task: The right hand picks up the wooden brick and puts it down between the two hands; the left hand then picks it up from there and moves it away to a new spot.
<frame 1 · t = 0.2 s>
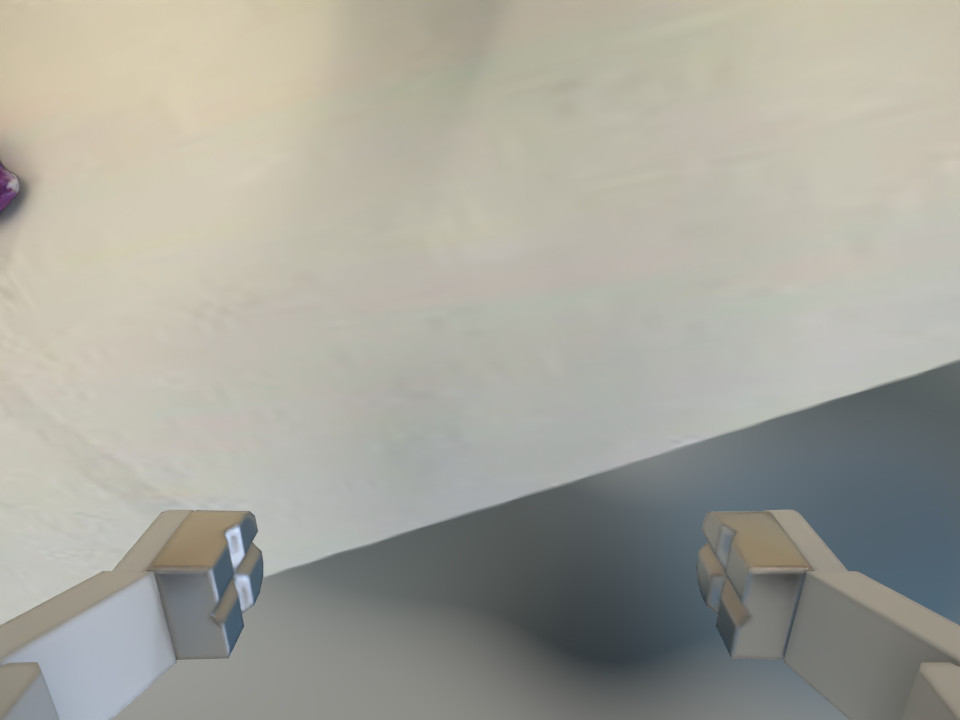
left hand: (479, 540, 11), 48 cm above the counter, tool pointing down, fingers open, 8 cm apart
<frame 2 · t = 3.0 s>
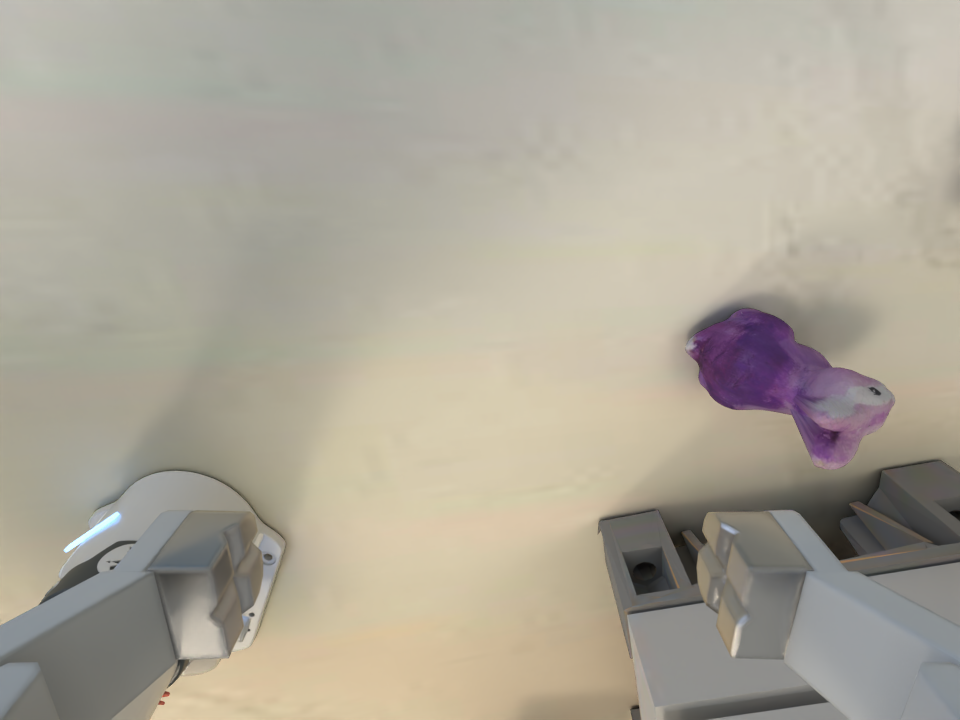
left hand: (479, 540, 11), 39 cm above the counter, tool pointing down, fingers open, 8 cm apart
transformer: (772, 613, 62), on the counter
figurine: (748, 348, 51), on the counter
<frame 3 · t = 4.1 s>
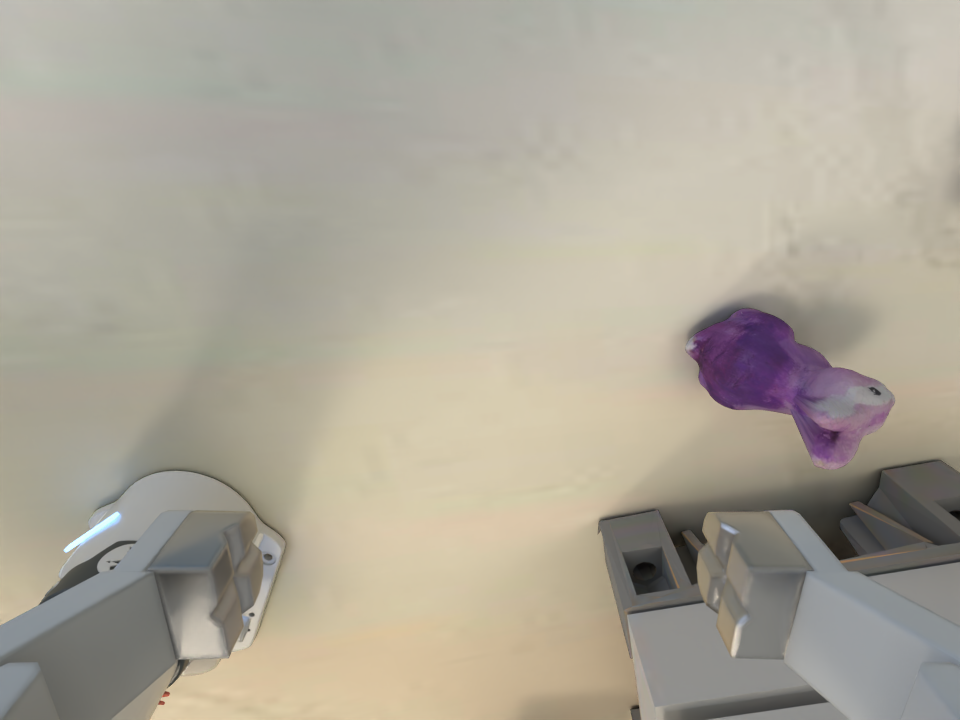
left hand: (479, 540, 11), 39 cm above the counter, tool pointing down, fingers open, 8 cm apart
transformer: (772, 613, 62), on the counter
figurine: (748, 348, 51), on the counter
when the right hand's fingers open (9 cm above the counter, at t = 5.6 s): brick drops 2 cm, on the counter.
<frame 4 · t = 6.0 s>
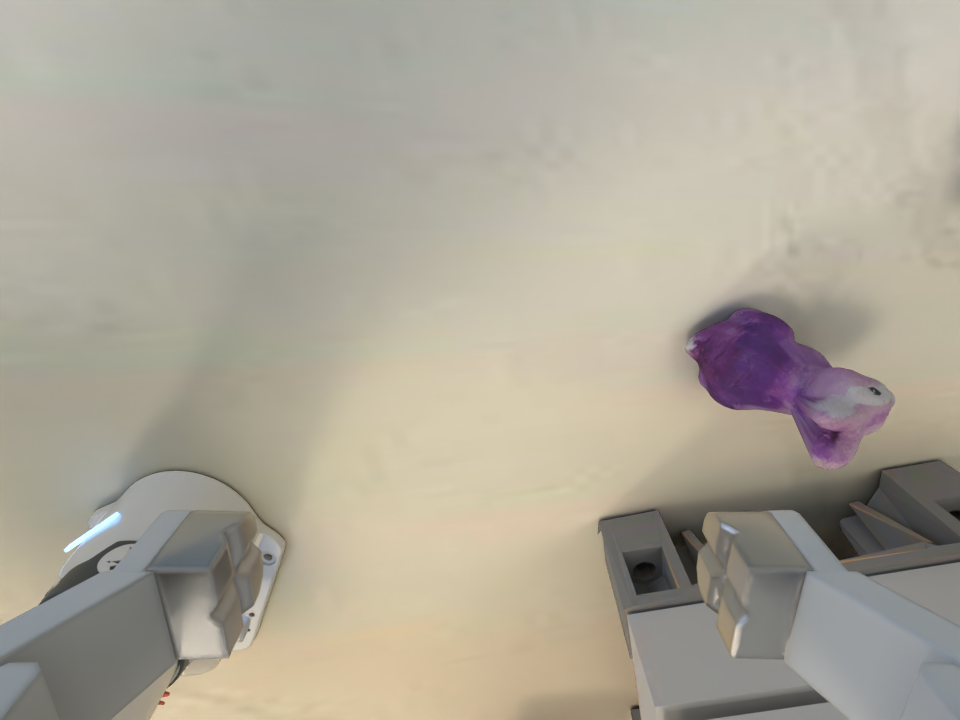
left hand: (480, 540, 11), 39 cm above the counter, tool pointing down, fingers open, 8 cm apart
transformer: (772, 613, 62), on the counter
figurine: (748, 348, 51), on the counter
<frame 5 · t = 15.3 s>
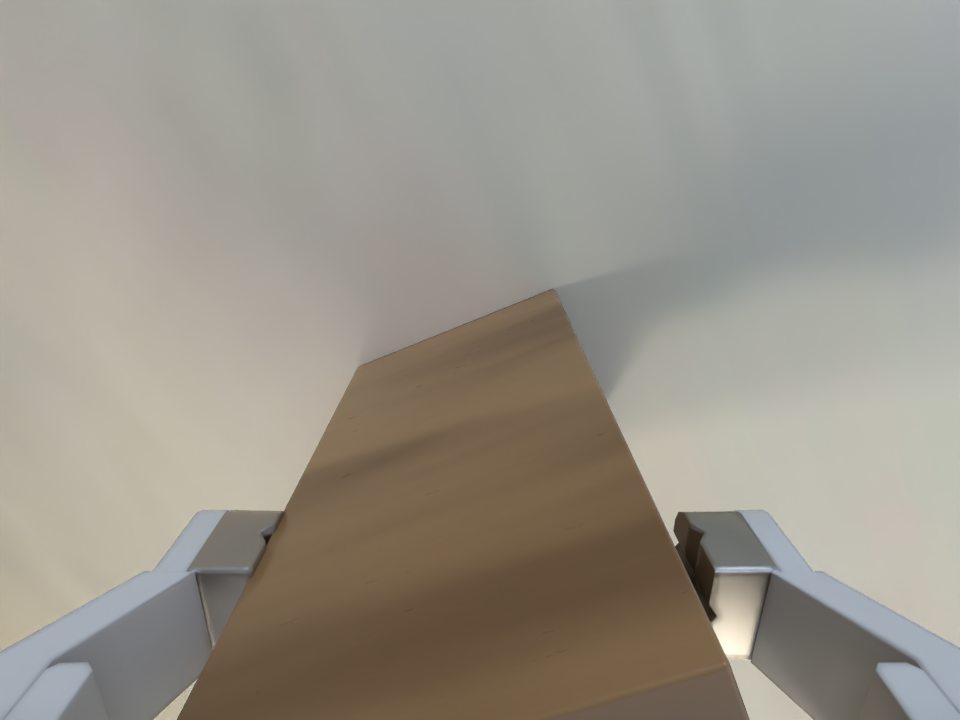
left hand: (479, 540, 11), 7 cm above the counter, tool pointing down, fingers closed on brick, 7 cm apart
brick: (481, 390, 17), on the counter, touching left hand
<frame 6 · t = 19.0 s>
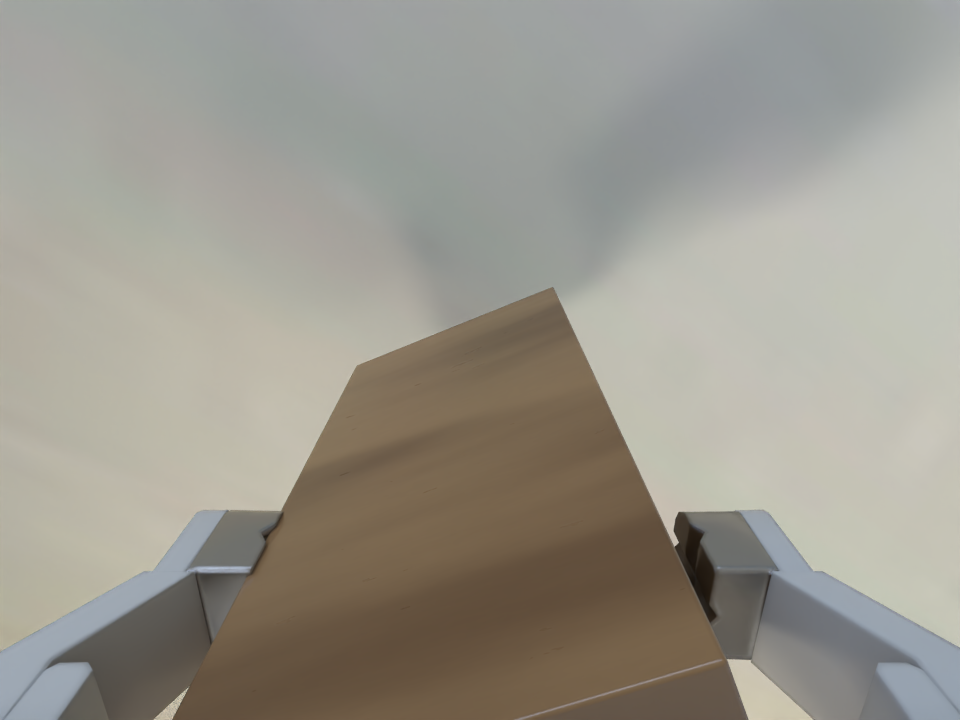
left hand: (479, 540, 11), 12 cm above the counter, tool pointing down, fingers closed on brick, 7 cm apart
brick: (480, 388, 17), point 6 cm above the counter, touching left hand
when the left hand's fingers open (8 cm above the counter, at t = 23.2 s): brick drops 2 cm, on the counter.
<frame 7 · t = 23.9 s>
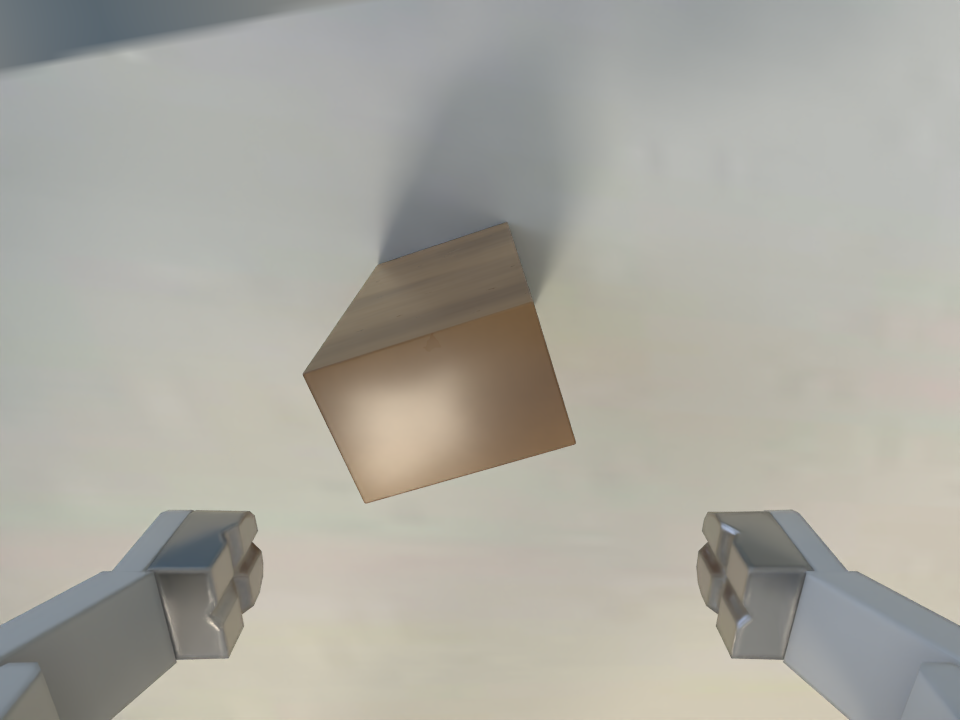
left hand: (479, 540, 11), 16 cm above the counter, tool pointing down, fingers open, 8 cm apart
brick: (456, 287, 26), on the counter
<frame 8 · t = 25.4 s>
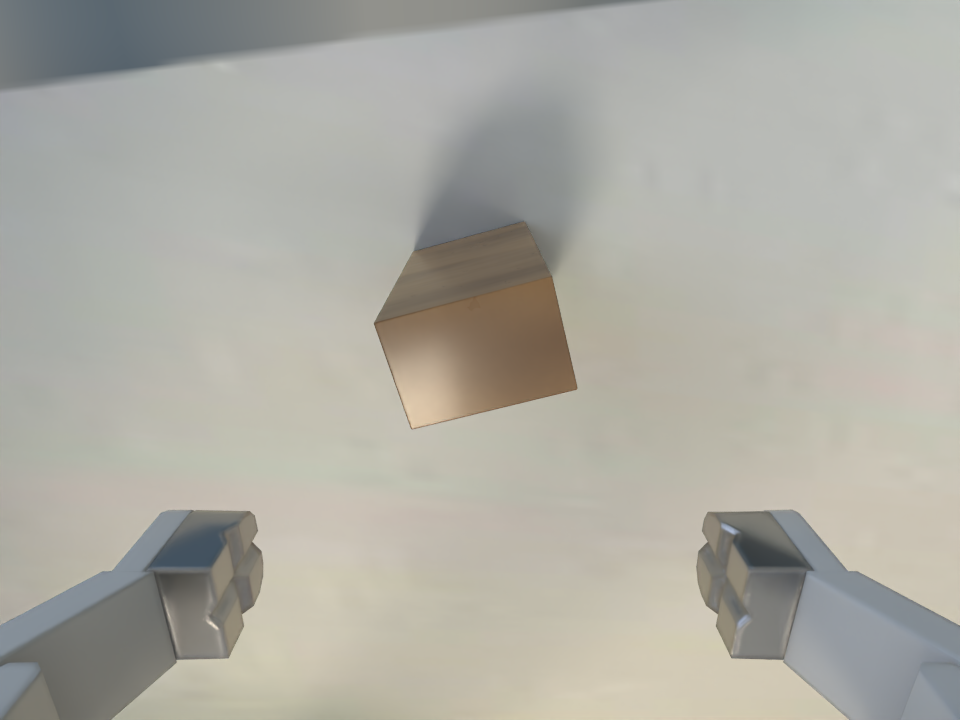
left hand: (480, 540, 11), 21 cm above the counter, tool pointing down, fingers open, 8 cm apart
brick: (478, 274, 30), on the counter
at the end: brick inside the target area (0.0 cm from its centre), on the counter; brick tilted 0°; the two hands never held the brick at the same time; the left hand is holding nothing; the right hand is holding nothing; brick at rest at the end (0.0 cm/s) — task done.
